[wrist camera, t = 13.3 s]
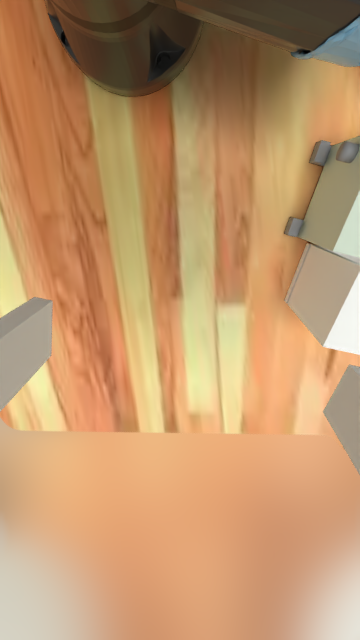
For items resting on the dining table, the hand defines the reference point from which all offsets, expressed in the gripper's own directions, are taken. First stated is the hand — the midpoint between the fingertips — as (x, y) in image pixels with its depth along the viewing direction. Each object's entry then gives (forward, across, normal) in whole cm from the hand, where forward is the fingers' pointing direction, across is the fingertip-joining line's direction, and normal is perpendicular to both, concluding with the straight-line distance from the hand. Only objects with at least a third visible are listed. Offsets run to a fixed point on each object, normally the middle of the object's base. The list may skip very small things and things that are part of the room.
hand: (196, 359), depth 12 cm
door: (+26, +14, +10) cm, 31 cm away
